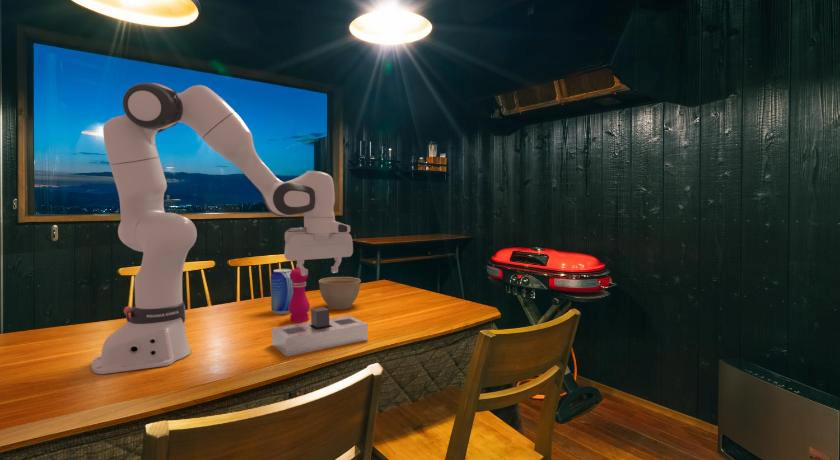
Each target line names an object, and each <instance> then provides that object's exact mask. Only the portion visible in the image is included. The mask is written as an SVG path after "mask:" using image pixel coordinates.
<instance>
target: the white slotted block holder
mask: <svg viewBox="0 0 840 460" xmlns="http://www.w3.org/2000/svg"><path fill="white" fill-rule="evenodd" d="M368 326H369V325H368V323H367V322H365V321H362V320H360V319H358V318H356V317H353V316H352V315H345V316H344V315H343V316H340V317H339V316H338V317H331V318H329V327H328V328H322V329H317V330H315V329H314V328H312V327H311V321H309V322H300V323H296V324H289V325H282V326H278V327H277V326H276V327H272V328H271V339H272V340H271V341H272V342H271V343H272V346H273V347H274V348H275V349H276V350H278V351H279V352H280V353H281V354H283V355H284V356H285V357H291V356H292V357H293V356H296V355H302V354H306V353H307V354H308V353H311V352H315V351H320V350H321V351H322V350H325V349H330V348H337V347H340V346H345V345H349V344H350V345H352V344H355V343H356V344H357V343H359V342H365V341H368V338H369V337H368V335H369V333H368V332H369V330H368V329H369V327H368Z"/></svg>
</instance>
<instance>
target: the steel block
mask: <svg viewBox="0 0 840 460" xmlns="http://www.w3.org/2000/svg"><path fill="white" fill-rule="evenodd" d="M329 319H330V308H328V307H324V306H322V307H316V308H310V322H311V327H312V328H314V329H315V330H317V329H322V328H328V327H329Z"/></svg>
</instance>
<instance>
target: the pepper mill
mask: <svg viewBox="0 0 840 460" xmlns="http://www.w3.org/2000/svg"><path fill="white" fill-rule="evenodd" d="M295 267H296V268H294V269H291V270H292V271H291V273H290V279H291V280H292V287H293V295H292V298H291V301H290V303H289V311H290V313H289V314H290V316H289V321H290V322H292V323H305V322H306V321H308V320H309V319H310V317H309V314H308V313H309V311H310V310H311V307H310V305H311V304H310V301H309V300H308V298H307V295H306V286H307V281H306V280H307V279H308V276H309V274H308V275H305V276H302V275H301V269H300V267H299V266H298V264H297V263H296V266H295Z"/></svg>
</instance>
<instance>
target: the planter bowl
mask: <svg viewBox="0 0 840 460" xmlns="http://www.w3.org/2000/svg"><path fill="white" fill-rule="evenodd" d="M361 282H362V281H361V278H357V277H352V276H334V277H333V276H331V277H324V278H321V279H319V280H318V285H319V291H320V294H321V298H322V300H323V301H324V303H325V304H326V306H327V307H326V308H327V309H329V310H348V309H350V308H352V307H353V303H354V302H355V301H356V300H357V297H358V295H359V292H360V287H361Z"/></svg>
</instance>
